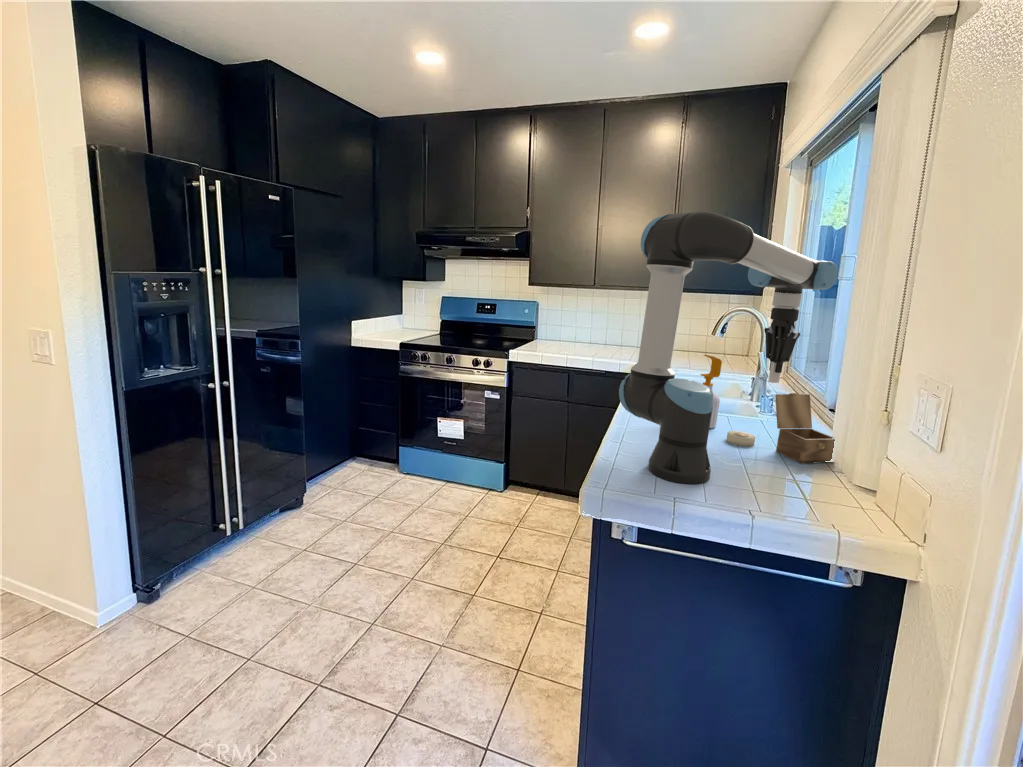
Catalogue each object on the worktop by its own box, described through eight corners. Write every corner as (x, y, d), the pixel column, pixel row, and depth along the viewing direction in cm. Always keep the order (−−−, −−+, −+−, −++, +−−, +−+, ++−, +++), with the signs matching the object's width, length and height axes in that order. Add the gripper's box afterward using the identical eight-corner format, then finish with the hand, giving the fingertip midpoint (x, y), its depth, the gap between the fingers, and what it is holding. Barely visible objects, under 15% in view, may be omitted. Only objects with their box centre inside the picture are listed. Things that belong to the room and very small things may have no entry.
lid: (778, 393, 148) (775, 393, 149) (780, 428, 147) (777, 428, 149) (810, 393, 151) (807, 393, 152) (813, 428, 150) (809, 428, 151)
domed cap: (736, 446, 152) (738, 438, 151) (721, 438, 159) (722, 430, 159) (759, 446, 153) (761, 438, 153) (743, 438, 161) (744, 430, 160)
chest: (801, 463, 140) (806, 440, 138) (775, 451, 149) (779, 428, 148) (834, 462, 142) (839, 439, 140) (807, 450, 152) (811, 428, 150)
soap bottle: (682, 422, 175) (691, 353, 170) (702, 420, 179) (712, 352, 174) (701, 429, 167) (711, 357, 162) (721, 428, 171) (732, 357, 165)
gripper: (812, 309, 148) (798, 386, 153) (780, 306, 160) (769, 377, 166) (790, 308, 146) (777, 386, 152) (760, 305, 159) (749, 377, 164)
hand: (773, 382), depth 159 cm, fingers closed
